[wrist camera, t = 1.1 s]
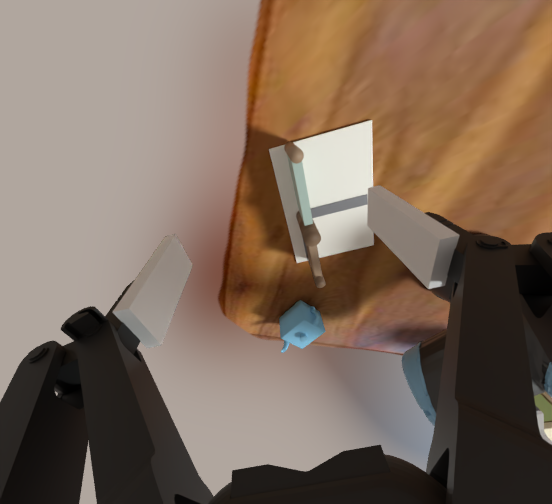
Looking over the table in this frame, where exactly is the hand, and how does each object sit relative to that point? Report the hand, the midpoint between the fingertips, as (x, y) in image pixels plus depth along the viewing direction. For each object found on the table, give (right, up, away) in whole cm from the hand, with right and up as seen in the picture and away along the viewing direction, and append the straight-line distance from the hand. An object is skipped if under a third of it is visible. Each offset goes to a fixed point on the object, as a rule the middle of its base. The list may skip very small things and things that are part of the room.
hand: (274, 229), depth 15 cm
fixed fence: (+6, +1, +25) cm, 25 cm away
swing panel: (+3, +10, +19) cm, 22 cm away
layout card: (+9, +7, +22) cm, 25 cm away
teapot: (+5, -16, +36) cm, 40 cm away
